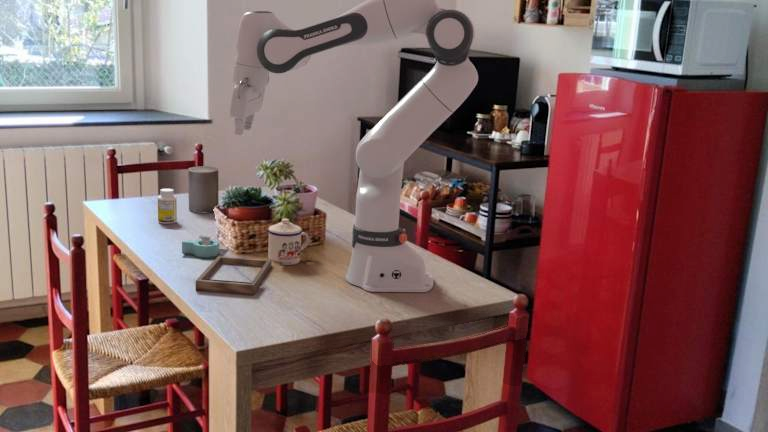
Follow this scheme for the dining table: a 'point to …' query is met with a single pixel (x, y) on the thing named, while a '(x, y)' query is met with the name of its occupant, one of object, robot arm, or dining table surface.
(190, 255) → the post stand
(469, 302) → the dining table surface
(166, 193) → the supplement bottle
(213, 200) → the pillar candle
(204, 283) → the walnut tray
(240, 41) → the robot arm
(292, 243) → the teacup with lid
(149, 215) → the dining table surface
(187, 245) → the teal ring
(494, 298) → the dining table surface
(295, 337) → the dining table surface
